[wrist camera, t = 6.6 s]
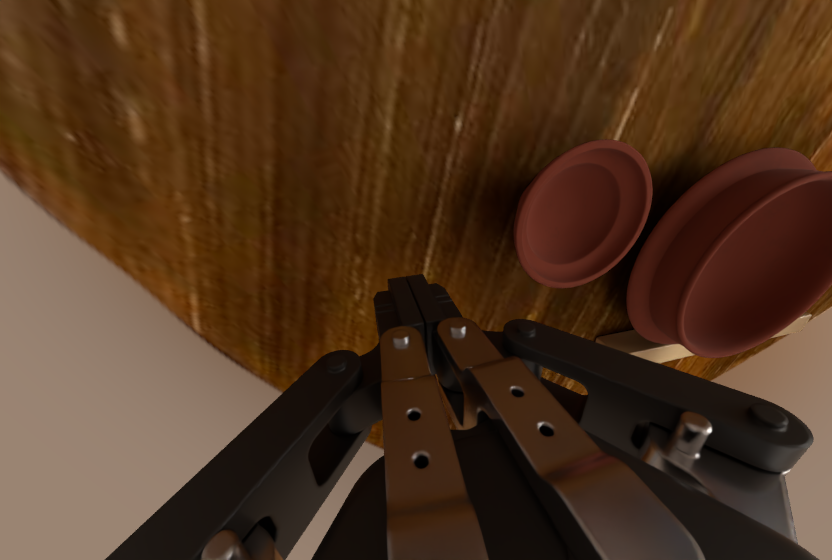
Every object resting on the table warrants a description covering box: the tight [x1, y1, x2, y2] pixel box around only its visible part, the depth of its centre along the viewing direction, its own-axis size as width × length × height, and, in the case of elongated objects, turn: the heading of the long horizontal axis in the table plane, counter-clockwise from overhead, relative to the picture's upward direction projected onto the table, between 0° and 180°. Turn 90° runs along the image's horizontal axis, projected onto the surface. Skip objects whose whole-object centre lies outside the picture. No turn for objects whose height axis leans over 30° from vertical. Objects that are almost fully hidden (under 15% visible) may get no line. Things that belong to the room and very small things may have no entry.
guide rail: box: [595, 312, 812, 363], centre depth 22 cm, size 16×2×2 cm, turn 93°
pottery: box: [514, 140, 832, 358], centre depth 16 cm, size 12×20×4 cm, turn 73°
